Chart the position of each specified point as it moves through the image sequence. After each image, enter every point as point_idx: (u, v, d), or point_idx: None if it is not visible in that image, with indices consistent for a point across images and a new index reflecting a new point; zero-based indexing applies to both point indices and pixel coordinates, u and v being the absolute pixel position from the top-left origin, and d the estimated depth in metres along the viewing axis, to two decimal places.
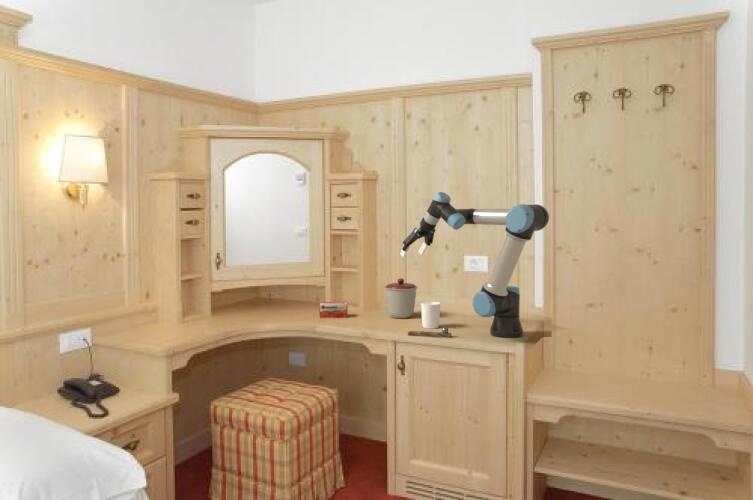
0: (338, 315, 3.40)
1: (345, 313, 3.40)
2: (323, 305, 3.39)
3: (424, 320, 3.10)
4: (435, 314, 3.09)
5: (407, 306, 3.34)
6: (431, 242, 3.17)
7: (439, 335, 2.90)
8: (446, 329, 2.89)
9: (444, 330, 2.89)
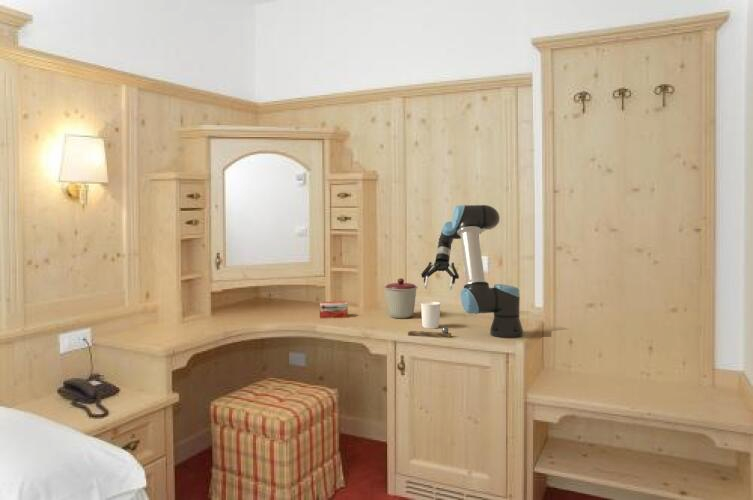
0: (338, 315, 3.40)
1: (345, 313, 3.40)
2: (323, 305, 3.39)
3: (424, 320, 3.10)
4: (435, 314, 3.09)
5: (407, 306, 3.34)
6: (456, 274, 3.35)
7: (439, 335, 2.90)
8: (446, 329, 2.89)
9: (444, 330, 2.89)
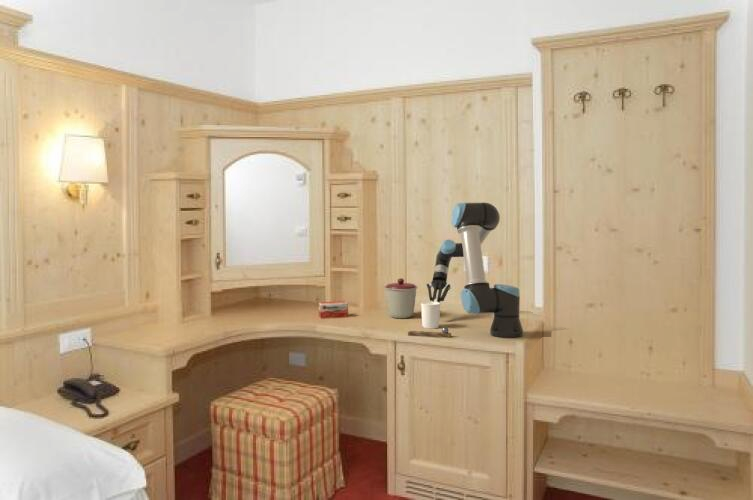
0: (339, 315, 3.40)
1: (346, 312, 3.41)
2: (324, 305, 3.38)
3: (424, 320, 3.10)
4: (435, 314, 3.09)
5: (407, 306, 3.34)
6: (441, 297, 3.28)
7: (439, 335, 2.90)
8: (446, 329, 2.89)
9: (444, 330, 2.89)
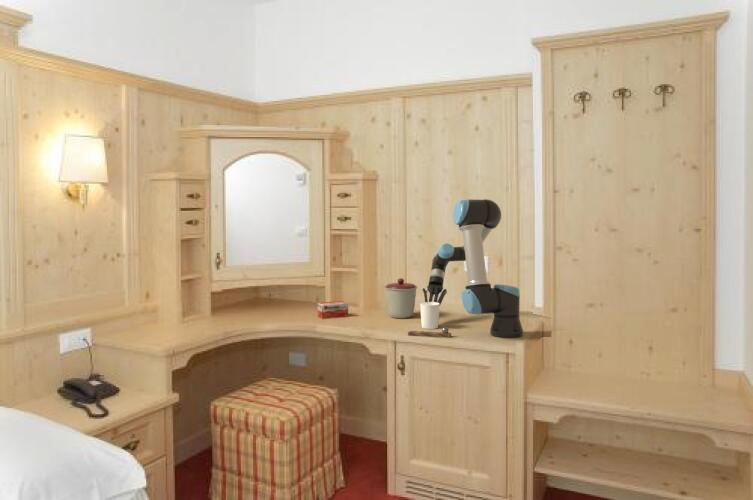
0: (340, 314, 3.41)
1: (346, 312, 3.43)
2: (326, 305, 3.37)
3: (423, 320, 3.09)
4: (434, 314, 3.07)
5: (407, 306, 3.34)
6: (438, 302, 3.19)
7: (439, 335, 2.90)
8: (446, 329, 2.89)
9: (444, 330, 2.89)
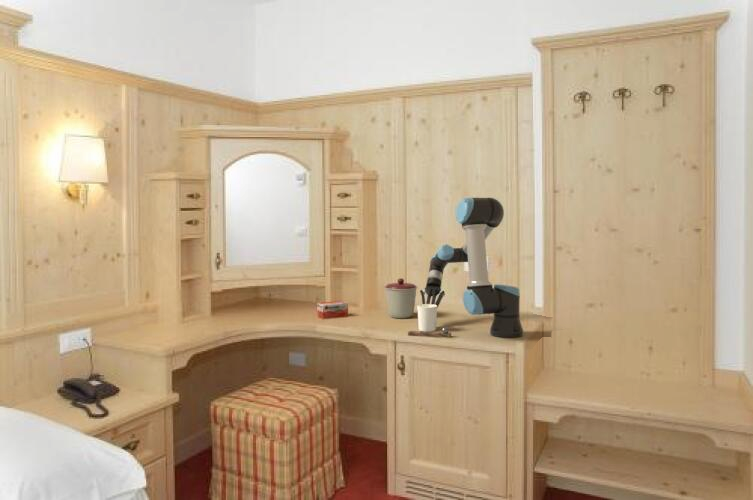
0: (340, 314, 3.41)
1: (346, 312, 3.43)
2: (326, 306, 3.37)
3: (420, 323, 3.03)
4: (432, 317, 3.01)
5: (407, 306, 3.34)
6: (435, 304, 3.13)
7: (439, 335, 2.90)
8: (446, 329, 2.89)
9: (444, 330, 2.89)
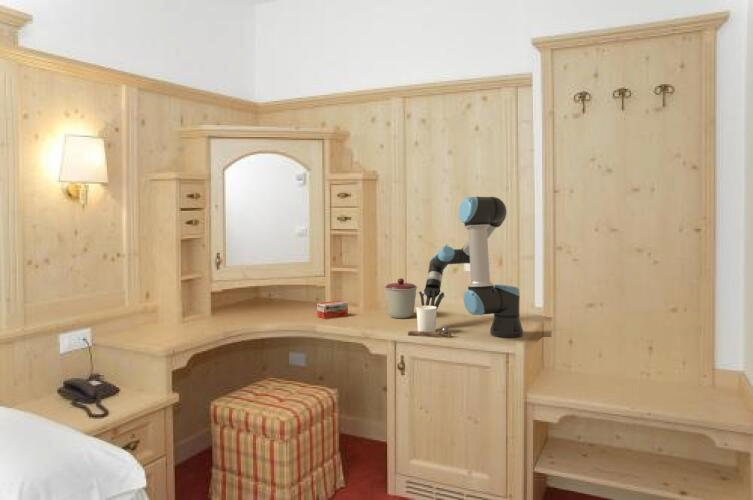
0: (340, 314, 3.42)
1: (346, 312, 3.44)
2: (327, 306, 3.37)
3: (420, 325, 2.98)
4: (431, 319, 2.97)
5: (407, 306, 3.34)
6: (435, 305, 3.09)
7: (439, 335, 2.90)
8: (446, 329, 2.89)
9: (444, 330, 2.89)
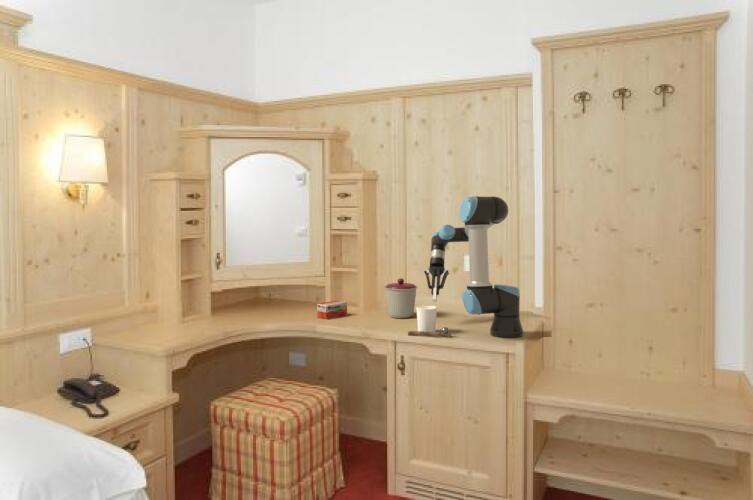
0: (340, 314, 3.43)
1: (346, 311, 3.45)
2: (329, 306, 3.37)
3: (420, 325, 2.98)
4: (431, 319, 2.97)
5: (407, 306, 3.34)
6: (441, 284, 3.19)
7: (439, 335, 2.90)
8: (446, 329, 2.89)
9: (444, 330, 2.89)
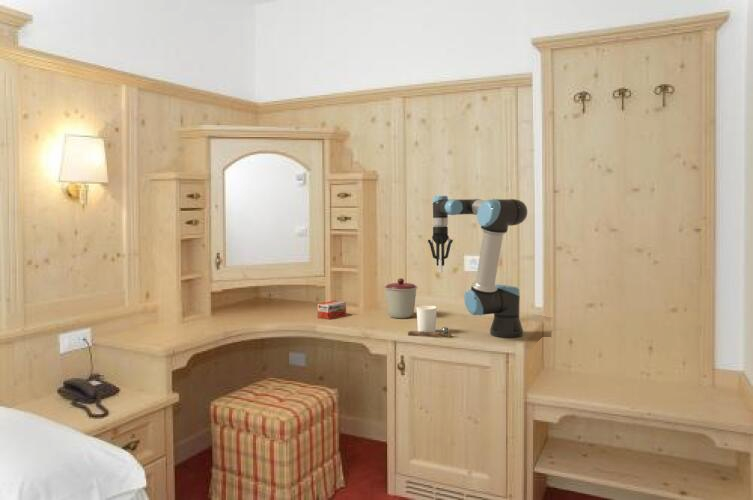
0: (340, 314, 3.43)
1: (345, 311, 3.46)
2: (331, 306, 3.37)
3: (420, 325, 2.98)
4: (431, 319, 2.97)
5: (407, 306, 3.34)
6: (445, 256, 3.18)
7: (439, 335, 2.90)
8: (446, 329, 2.89)
9: (444, 330, 2.89)
